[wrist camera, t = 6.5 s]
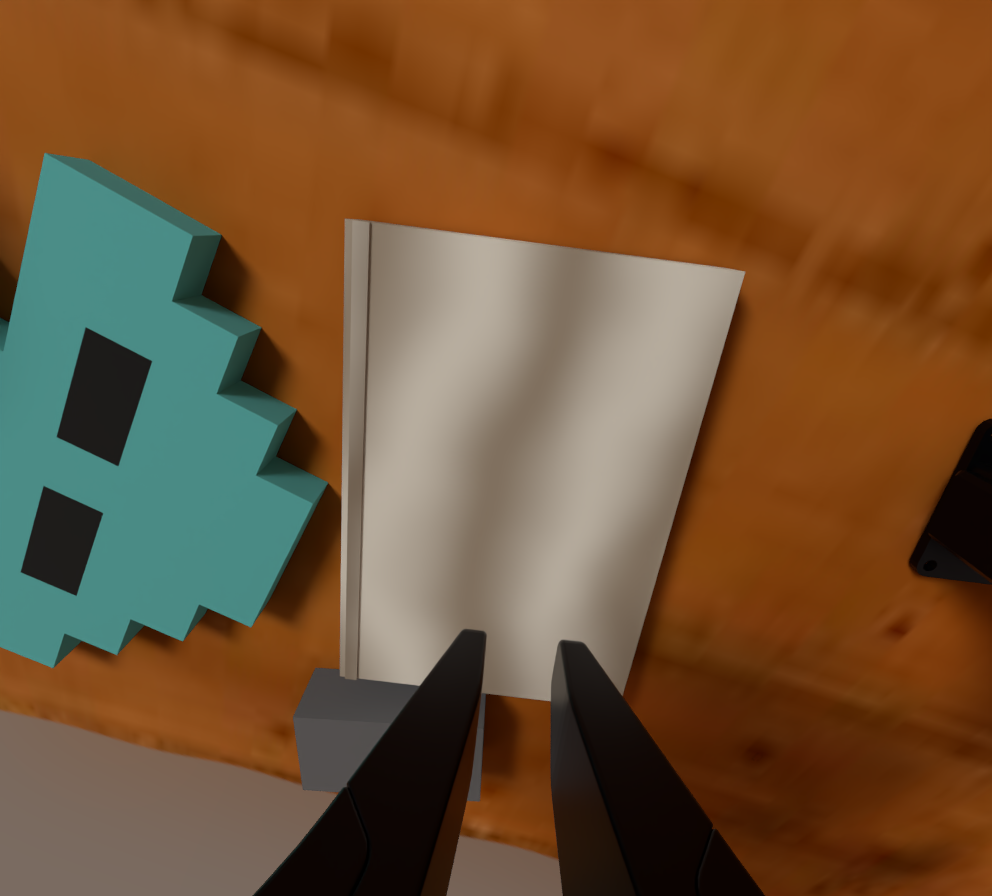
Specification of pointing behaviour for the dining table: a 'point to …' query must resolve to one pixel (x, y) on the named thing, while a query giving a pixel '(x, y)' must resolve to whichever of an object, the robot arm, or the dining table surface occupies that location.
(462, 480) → the white flat slab
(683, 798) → the robot arm
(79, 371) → the alien figure
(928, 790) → the dining table surface
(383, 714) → the block
